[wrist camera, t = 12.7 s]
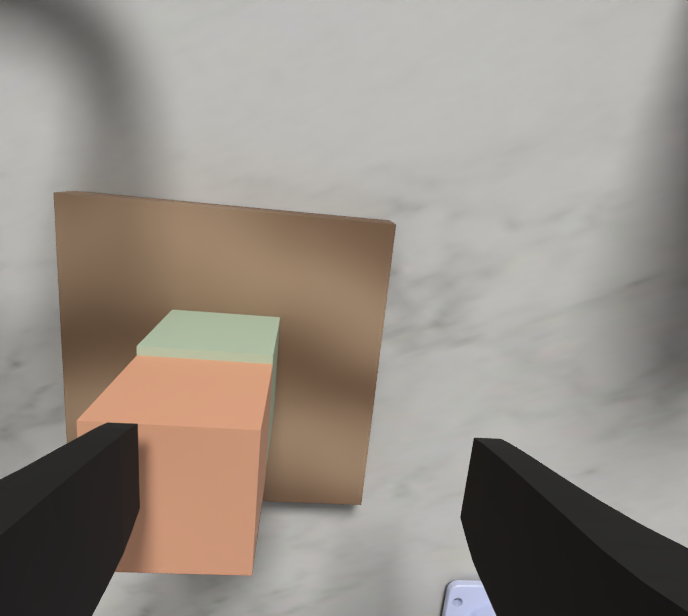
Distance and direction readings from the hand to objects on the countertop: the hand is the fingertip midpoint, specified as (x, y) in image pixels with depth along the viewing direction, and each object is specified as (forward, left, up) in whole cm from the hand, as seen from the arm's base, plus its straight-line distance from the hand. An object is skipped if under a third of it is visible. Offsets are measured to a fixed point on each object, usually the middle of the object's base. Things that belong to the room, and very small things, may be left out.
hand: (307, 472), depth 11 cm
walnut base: (-1, +3, -10) cm, 11 cm away
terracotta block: (-2, +3, -5) cm, 6 cm away
